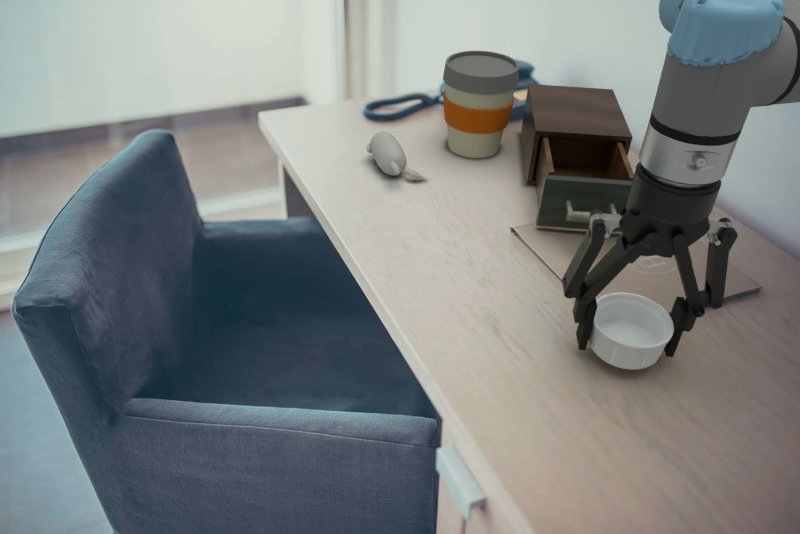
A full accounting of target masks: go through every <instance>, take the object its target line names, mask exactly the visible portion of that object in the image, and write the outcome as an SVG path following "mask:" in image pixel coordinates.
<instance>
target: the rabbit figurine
mask: <svg viewBox="0 0 800 534" xmlns="http://www.w3.org/2000/svg"><path fill="white" fill-rule="evenodd" d="M369 141H370V142H369V143H368V144H366V152H367V153H368V154H372V155H371V159H372V160H374V161H375V162H376V165H377V166H378V167H379V168H380V169H381V171H382V172H383V173H385V175H388V176H393V177H395V176H399V175H400V174H401V173H402V172H403V171H404V173H405V174H406V175H407V176H408V177H410V178H411V179H414V180H417V181H421V180H423V179H424V176H422V174H420V173H419V172H418V171H416V170H415V169H413V168H411V167H407V165H408V164H407V156H406V153H405V152H404V149H403V148H402V146H401V144H400V143H399V140H398V139H397V138H396V137H395V136H394V135H393V134H392V133H391V132H388V131H385V130H383V131H378V132H377V133H375V134H374V135H373V136H372V137H371V139H370V140H369Z"/></svg>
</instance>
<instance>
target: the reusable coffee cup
mask: <svg viewBox="0 0 800 534" xmlns="http://www.w3.org/2000/svg"><path fill="white" fill-rule="evenodd" d="M442 80H443V82H444V88H445V90H444V91H443V93H442V95H443V98H442V99H443V113H444V115H443V116H444V121H445V123H446V124H447V126H446V127H447V145H448V146H447V147H448V149H449V150H450V151H451V152H452V153H454V154H456V155H458V156H461V157H464V158H469V159H484V158H488V157H492V156H494V155H496V154H497V152H499V148H500V144H501V141H502V137H503V134H504V130H505V129H506V128H507V126H509V125H508V124H509V121H510V117H511V114H512V111H513V107H514V104H515V96H514V94H515V91H516V88H517V87H518V86H519V83H520V82H519V81H520V64H519V62H518V61H517V60H516V59H515V58H513V57H511V56H509V55H506V54H504V53H499V52H494V51H487V50H465V51H458V52H455V53H453V54H451V55H449V56H447V58H446V60H445V63H444V69H443V75H442Z"/></svg>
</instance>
